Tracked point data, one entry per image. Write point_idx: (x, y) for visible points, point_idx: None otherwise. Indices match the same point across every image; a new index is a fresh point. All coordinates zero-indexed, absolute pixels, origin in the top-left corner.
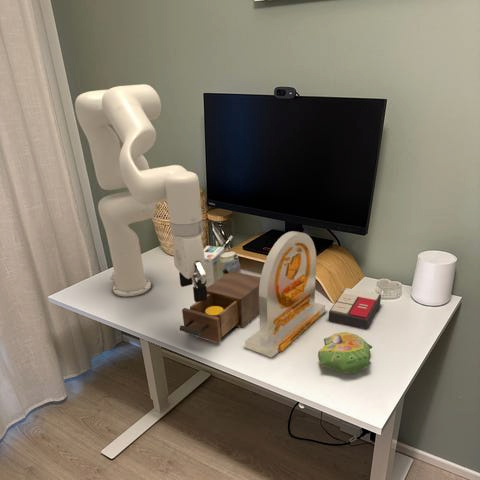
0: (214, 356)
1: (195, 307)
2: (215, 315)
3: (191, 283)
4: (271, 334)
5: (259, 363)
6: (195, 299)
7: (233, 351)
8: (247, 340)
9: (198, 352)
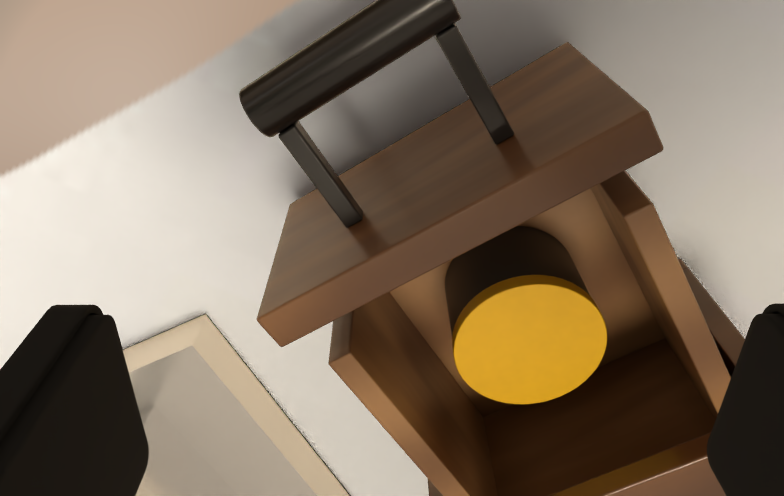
0: (185, 120)
1: (634, 245)
2: (458, 326)
3: (718, 456)
4: None
5: (22, 311)
6: (32, 340)
7: (196, 244)
8: (191, 356)
9: (281, 39)
